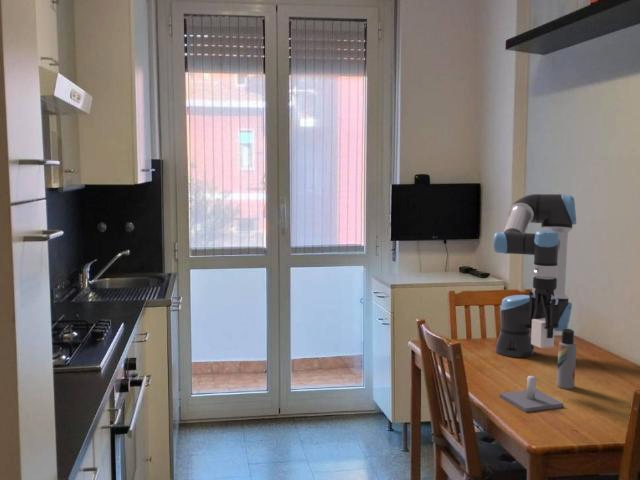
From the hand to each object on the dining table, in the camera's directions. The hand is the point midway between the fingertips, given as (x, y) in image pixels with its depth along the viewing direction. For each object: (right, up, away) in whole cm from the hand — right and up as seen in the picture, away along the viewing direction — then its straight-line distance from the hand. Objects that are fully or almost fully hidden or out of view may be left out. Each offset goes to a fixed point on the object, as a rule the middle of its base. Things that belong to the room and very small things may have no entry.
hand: (542, 344), depth 221 cm
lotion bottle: (+9, -15, +4) cm, 18 cm away
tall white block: (0, 0, 0) cm, 0 cm away
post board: (-7, -17, -11) cm, 21 cm away
